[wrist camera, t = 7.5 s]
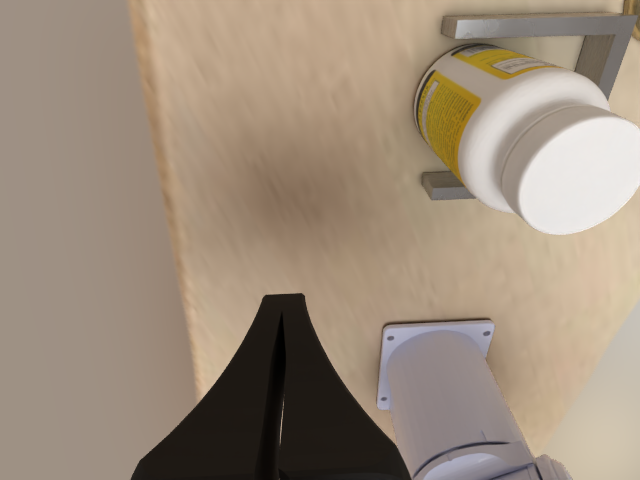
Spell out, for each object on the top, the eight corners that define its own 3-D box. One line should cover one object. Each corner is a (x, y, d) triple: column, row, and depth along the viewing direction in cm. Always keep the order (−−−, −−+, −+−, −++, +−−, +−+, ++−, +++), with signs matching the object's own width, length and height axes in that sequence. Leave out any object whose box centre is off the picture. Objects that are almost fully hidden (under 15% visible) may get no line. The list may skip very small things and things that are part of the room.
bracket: (554, 178, 23) (574, 194, 22) (421, 184, 23) (431, 200, 21) (607, 11, 19) (638, 15, 17) (443, 16, 18) (457, 20, 17)
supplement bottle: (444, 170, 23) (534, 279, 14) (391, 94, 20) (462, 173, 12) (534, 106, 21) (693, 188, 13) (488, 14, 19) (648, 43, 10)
